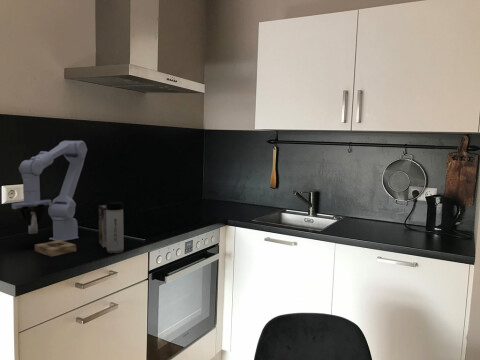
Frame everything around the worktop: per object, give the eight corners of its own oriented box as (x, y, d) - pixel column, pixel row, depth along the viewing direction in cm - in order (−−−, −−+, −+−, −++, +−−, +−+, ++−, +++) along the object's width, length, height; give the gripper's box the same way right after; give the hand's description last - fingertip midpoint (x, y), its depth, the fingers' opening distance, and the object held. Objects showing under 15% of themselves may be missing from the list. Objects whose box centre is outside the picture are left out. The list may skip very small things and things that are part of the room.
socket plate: (59, 246, 162) (59, 240, 161) (76, 251, 154) (76, 244, 154) (34, 251, 153) (34, 244, 153) (51, 256, 146) (51, 250, 146)
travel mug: (112, 248, 159) (111, 199, 157) (126, 250, 157) (126, 200, 155) (102, 252, 153) (101, 201, 151) (117, 254, 151) (116, 202, 149)
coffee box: (98, 242, 168) (97, 205, 166) (114, 241, 171) (113, 204, 169) (102, 248, 160) (102, 208, 158) (119, 246, 163) (118, 207, 161)
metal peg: (35, 231, 160) (34, 212, 159) (39, 232, 158) (38, 212, 157) (27, 233, 157) (26, 213, 156) (31, 234, 155) (30, 213, 155)
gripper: (17, 193, 148) (18, 229, 149) (54, 189, 159) (55, 223, 161) (8, 191, 152) (9, 226, 153) (45, 188, 164) (46, 221, 165)
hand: (32, 224), depth 157 cm, fingers closed on metal peg, 3 cm apart
